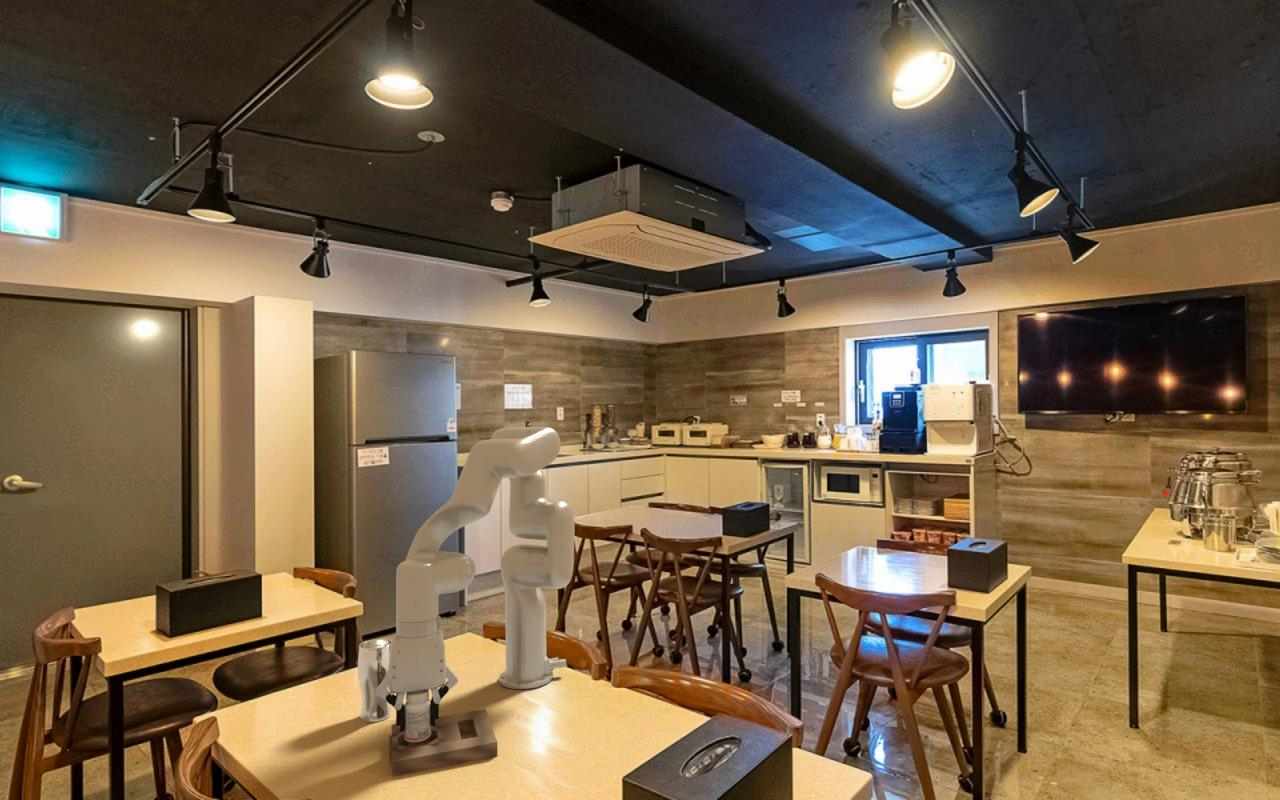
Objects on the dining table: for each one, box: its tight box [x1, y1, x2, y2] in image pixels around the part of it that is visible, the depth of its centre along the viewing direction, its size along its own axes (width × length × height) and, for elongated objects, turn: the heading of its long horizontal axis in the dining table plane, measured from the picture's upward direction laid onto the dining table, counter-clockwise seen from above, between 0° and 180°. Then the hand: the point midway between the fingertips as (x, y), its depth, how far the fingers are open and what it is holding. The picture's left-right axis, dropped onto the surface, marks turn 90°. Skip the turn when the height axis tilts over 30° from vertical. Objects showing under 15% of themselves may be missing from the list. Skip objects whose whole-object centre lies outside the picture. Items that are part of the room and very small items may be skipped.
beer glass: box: [357, 638, 393, 723], centre depth 137 cm, size 7×7×15 cm
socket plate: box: [388, 708, 498, 777], centre depth 123 cm, size 18×15×2 cm
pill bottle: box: [404, 689, 431, 743], centre depth 121 cm, size 5×5×8 cm
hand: (417, 724), depth 121 cm, fingers closed on pill bottle, 4 cm apart
